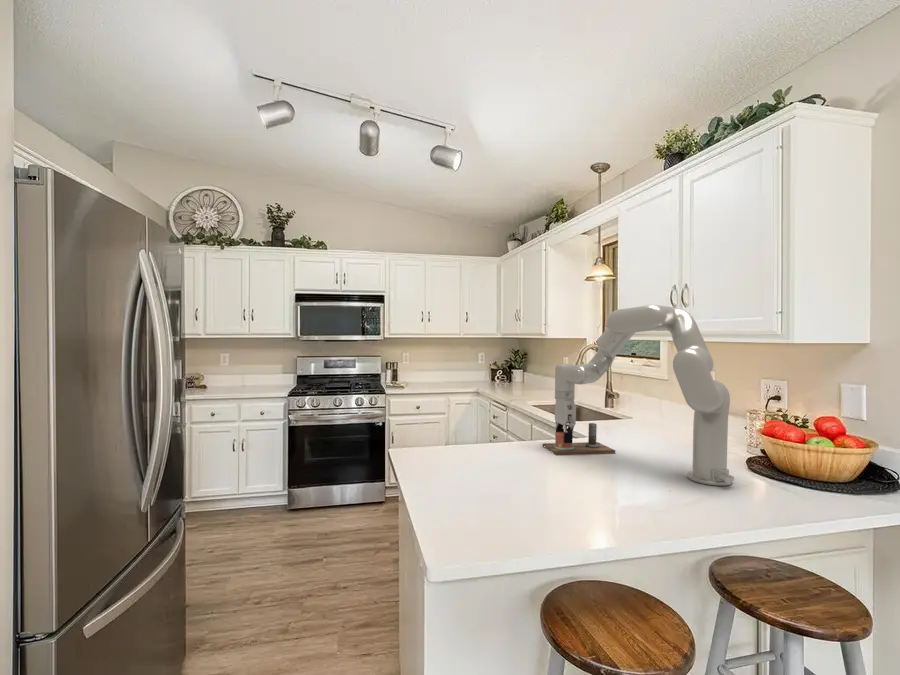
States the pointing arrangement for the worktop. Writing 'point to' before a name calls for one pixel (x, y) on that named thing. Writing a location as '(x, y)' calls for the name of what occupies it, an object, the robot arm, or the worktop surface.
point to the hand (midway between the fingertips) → (563, 440)
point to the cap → (561, 440)
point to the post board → (582, 446)
